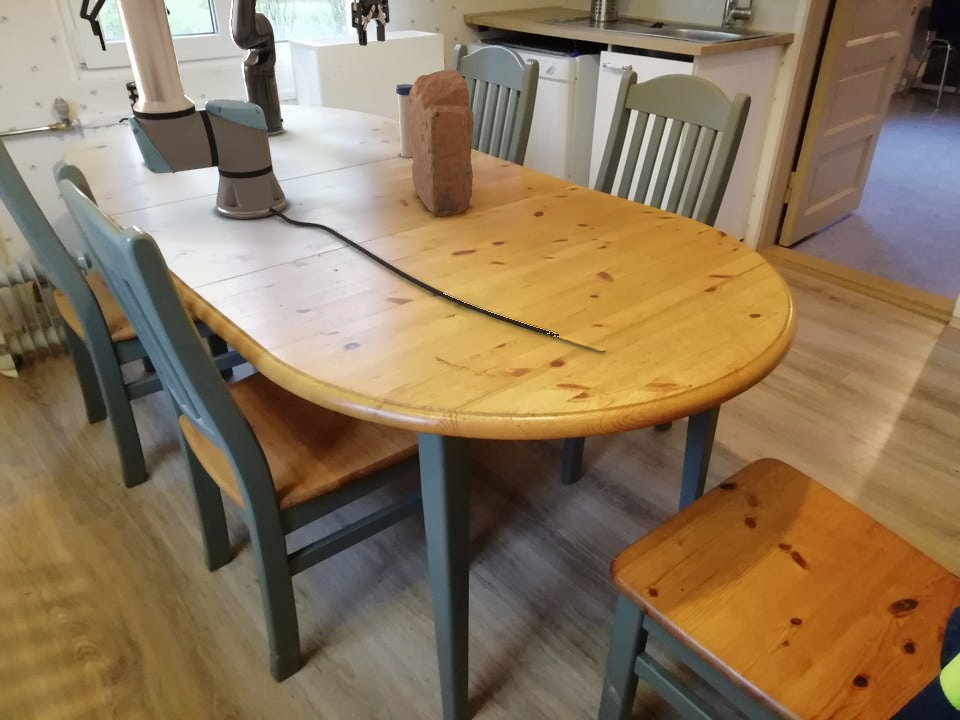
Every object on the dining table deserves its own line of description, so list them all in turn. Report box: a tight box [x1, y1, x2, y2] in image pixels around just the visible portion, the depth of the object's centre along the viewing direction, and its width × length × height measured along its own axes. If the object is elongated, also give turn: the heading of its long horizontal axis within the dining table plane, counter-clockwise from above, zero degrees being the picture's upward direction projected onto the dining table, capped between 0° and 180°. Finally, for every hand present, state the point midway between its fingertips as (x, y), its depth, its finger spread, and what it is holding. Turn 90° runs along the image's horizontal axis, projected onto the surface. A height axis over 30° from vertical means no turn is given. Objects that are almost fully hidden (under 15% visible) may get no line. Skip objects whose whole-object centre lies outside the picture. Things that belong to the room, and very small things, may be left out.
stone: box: [409, 69, 475, 217], centre depth 155 cm, size 22×11×28 cm, turn 18°
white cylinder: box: [397, 94, 412, 158], centre depth 190 cm, size 4×4×18 cm
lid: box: [395, 83, 413, 95], centre depth 185 cm, size 5×5×2 cm
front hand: (133, 48), depth 174 cm, fingers open, 13 cm apart
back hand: (372, 43), depth 187 cm, fingers open, 8 cm apart
